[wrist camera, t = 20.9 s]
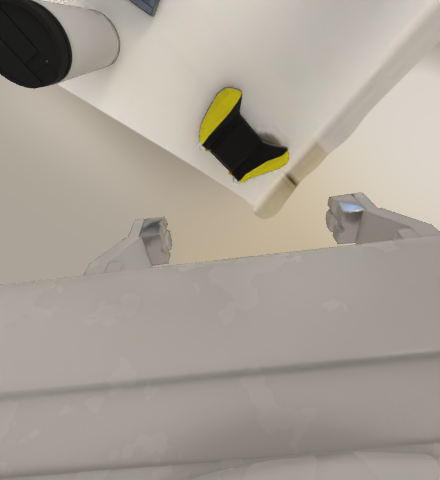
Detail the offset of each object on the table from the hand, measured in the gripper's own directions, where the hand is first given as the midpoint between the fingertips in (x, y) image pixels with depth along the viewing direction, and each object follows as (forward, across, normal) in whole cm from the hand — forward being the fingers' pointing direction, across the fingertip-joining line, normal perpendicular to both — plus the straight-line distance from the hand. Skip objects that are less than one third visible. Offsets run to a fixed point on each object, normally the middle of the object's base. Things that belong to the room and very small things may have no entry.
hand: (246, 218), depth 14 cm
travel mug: (+35, +16, -9) cm, 40 cm away
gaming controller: (+35, -2, +7) cm, 36 cm away
